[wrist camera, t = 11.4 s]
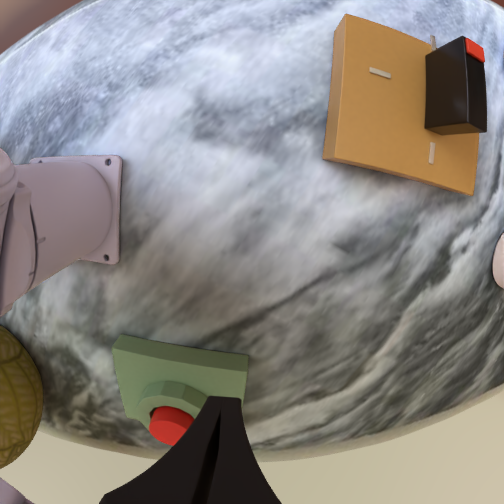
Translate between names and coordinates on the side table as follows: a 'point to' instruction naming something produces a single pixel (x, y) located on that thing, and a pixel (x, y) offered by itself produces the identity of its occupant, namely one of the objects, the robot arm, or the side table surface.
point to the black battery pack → (456, 89)
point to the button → (169, 424)
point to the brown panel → (390, 110)
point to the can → (499, 262)
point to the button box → (174, 376)
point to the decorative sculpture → (17, 398)
